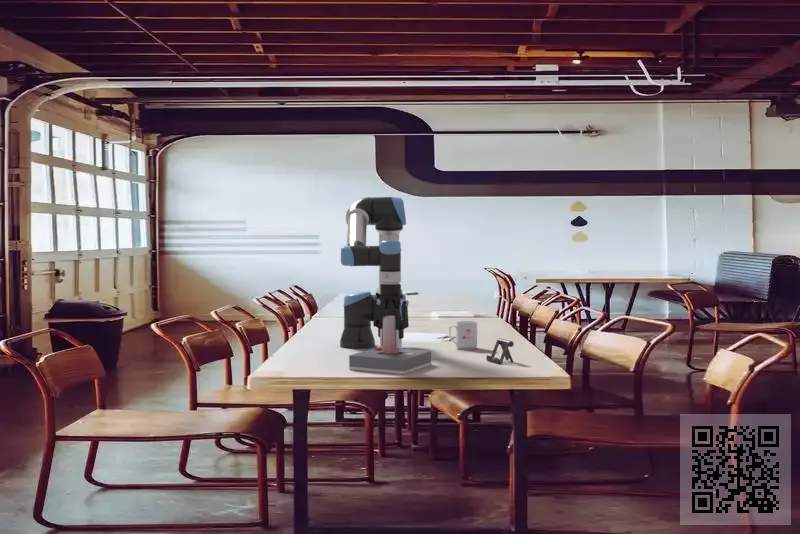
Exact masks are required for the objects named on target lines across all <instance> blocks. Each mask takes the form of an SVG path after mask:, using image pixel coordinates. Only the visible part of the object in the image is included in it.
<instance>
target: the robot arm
mask: <svg viewBox="0 0 800 534" xmlns="http://www.w3.org/2000/svg"><path fill="white" fill-rule="evenodd" d="M345 222H346V225H347V233H346V234H347V235H346V245H343V246H341V247H340V264H341V266H345V267H378V280H379V281H378V284H379V286H378V287H377V288H376V289H375V294H372V293H371V291H370V290H369V291H357V292H352V293H348V294H346V295H344V298H343V331H342V333H341V336H340V341H339V347H342V348H348V349H362V348H363V349H364V348H365V349H366V348H371V347H375V346H376V340H375V336H374V334H373V330H372V326H371V325H372V323H373V327H375V328H377V332H378V334H377V337H378V338H379V342H380V343H379V345H380V346H379V347H383V316H384V317H385V316H395V319H396V322H397V326H398V330H396V348H399V349H401V348H402V344H403V343H402V341H403V339H404V338H405V337H404V335H405V334H404V333H405V332H404V330H405V329H407V328H409V309H408V308H409V307H408V306H409V300H407V299H406V298H407V297H406V294H404V293H403V290H402V284H401V282H402V268H401V266H402V262H401V261H402V259H401V258H402V253H401V252H402V248H401V246H402V244H401V241H400V233H401V232H402V230H403V228H404V226H406V225H407V219H406V210H405V205H404V200H403V199H402V198H401V197H395V196H394V197H393V196H378V197H377V196H376V197H375V196H374V197H372V196H370V197H368V196H367V197H362V198H360V199H358V200H357V201H355V202H354V203H352V204H351V205H350V207H349V208H348V209H347V211H346V215H345ZM368 226H375V228H374V229H375V231H376V232H378V245H367V228H368Z"/></svg>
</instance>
